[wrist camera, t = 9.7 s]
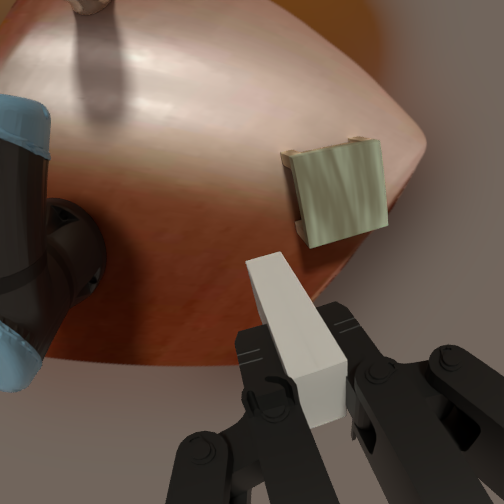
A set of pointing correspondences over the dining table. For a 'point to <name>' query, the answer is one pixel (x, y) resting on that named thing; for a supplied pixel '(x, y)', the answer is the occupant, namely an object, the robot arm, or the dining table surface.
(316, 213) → the footstool
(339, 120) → the dining table surface
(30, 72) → the dining table surface
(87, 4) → the beer glass
